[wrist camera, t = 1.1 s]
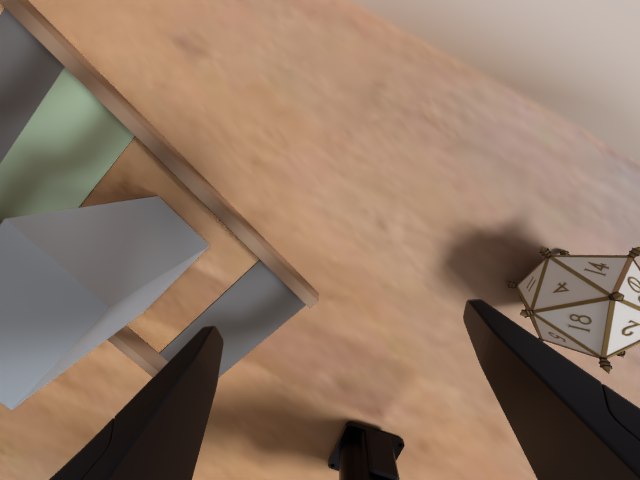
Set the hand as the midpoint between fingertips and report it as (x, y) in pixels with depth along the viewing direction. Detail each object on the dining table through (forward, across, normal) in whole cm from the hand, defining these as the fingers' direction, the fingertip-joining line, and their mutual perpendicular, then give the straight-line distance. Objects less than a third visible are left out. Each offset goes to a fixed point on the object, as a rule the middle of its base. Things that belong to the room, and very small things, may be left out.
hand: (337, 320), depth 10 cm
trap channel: (+14, +19, +2) cm, 24 cm away
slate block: (+13, +17, +5) cm, 22 cm away
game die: (+11, -17, +11) cm, 23 cm away
